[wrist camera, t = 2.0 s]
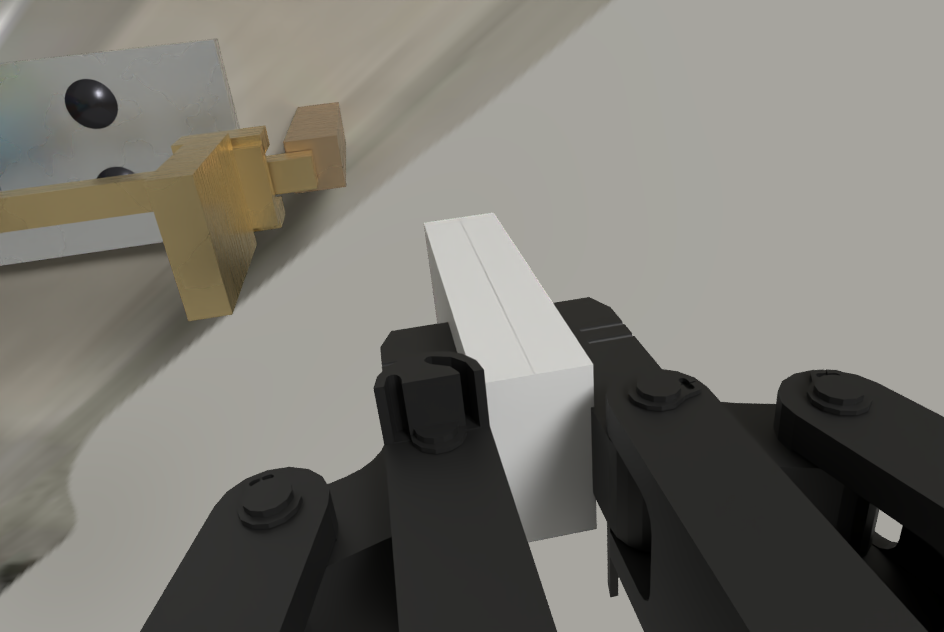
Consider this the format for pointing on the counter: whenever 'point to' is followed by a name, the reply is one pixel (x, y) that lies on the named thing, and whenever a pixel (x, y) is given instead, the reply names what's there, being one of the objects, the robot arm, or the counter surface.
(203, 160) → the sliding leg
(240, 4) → the counter surface
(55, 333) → the counter surface
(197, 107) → the flange plate
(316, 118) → the beam
